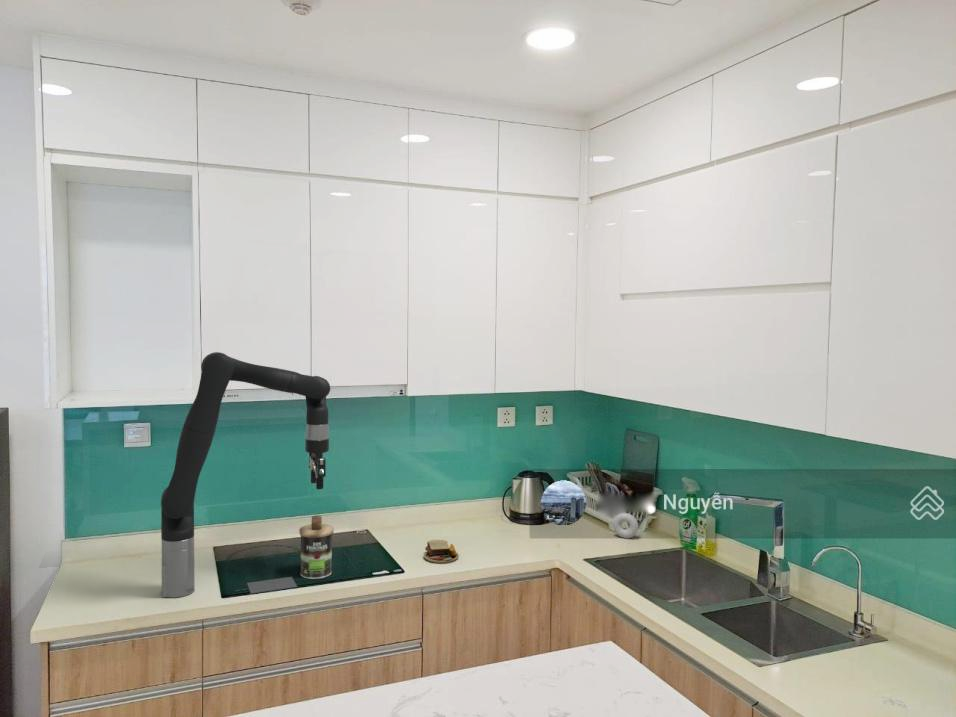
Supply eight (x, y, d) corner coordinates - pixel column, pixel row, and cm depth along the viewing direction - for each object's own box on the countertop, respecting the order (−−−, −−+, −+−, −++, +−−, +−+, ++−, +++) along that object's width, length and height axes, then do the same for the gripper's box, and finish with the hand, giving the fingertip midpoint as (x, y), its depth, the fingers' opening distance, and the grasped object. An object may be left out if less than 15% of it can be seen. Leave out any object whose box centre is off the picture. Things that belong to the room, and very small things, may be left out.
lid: (302, 539, 221) (303, 523, 220) (296, 529, 231) (296, 514, 230) (337, 535, 225) (337, 519, 225) (329, 525, 235) (329, 510, 235)
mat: (250, 594, 211) (250, 593, 211) (247, 584, 219) (247, 582, 219) (297, 587, 217) (297, 586, 217) (291, 577, 225) (291, 576, 225)
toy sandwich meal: (424, 565, 239) (425, 551, 239) (422, 552, 253) (422, 539, 252) (460, 564, 241) (460, 550, 241) (456, 551, 254) (456, 538, 254)
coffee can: (333, 578, 225) (333, 536, 224) (300, 581, 222) (300, 538, 222) (331, 567, 235) (331, 526, 234) (300, 569, 232) (300, 528, 231)
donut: (611, 537, 273) (612, 512, 272) (613, 534, 276) (614, 510, 276) (636, 541, 269) (637, 515, 268) (638, 538, 272) (639, 513, 272)
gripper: (301, 434, 231) (301, 482, 232) (310, 441, 218) (309, 492, 219) (323, 433, 234) (323, 480, 235) (333, 440, 221) (333, 490, 222)
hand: (316, 485), depth 227 cm, fingers open, 8 cm apart
